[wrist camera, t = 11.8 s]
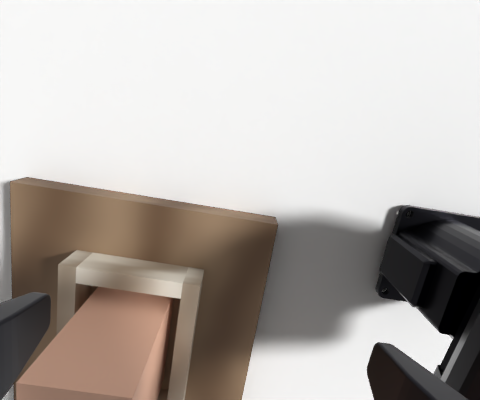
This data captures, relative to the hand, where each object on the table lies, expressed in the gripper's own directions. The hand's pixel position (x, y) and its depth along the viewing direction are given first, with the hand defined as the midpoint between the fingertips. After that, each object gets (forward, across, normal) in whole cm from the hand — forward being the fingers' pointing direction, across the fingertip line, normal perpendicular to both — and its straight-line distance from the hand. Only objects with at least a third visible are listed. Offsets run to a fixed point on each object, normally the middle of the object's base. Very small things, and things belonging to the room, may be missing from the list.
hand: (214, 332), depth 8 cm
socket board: (+12, +5, +9) cm, 16 cm away
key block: (+10, +5, +9) cm, 15 cm away
